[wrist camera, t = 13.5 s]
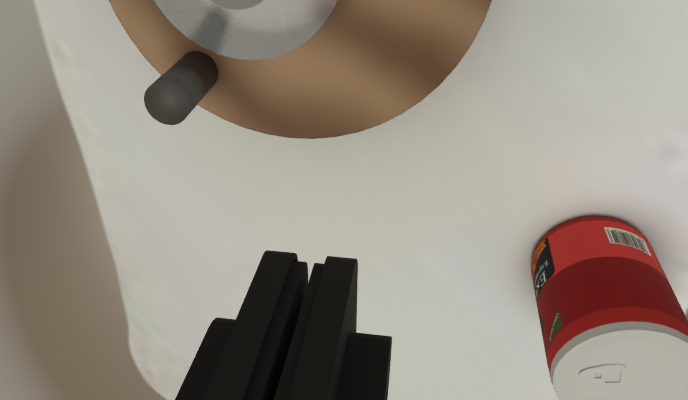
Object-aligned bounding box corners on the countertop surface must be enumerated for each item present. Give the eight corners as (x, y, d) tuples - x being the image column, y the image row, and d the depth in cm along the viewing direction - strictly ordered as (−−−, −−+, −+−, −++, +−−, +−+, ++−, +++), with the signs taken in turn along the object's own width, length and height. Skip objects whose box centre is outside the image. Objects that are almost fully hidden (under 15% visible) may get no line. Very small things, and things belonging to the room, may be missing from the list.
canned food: (516, 229, 41) (536, 346, 32) (639, 197, 39) (699, 315, 30) (544, 309, 45) (569, 436, 36) (659, 285, 42) (718, 415, 33)
